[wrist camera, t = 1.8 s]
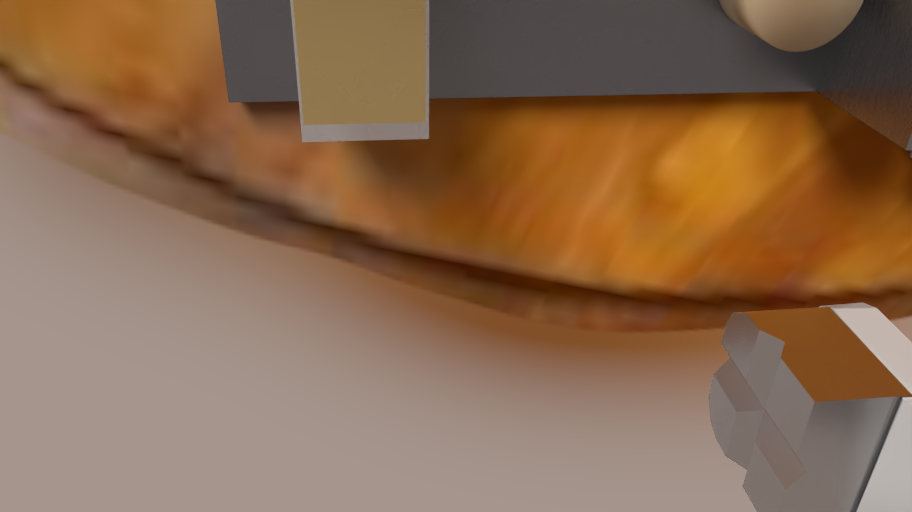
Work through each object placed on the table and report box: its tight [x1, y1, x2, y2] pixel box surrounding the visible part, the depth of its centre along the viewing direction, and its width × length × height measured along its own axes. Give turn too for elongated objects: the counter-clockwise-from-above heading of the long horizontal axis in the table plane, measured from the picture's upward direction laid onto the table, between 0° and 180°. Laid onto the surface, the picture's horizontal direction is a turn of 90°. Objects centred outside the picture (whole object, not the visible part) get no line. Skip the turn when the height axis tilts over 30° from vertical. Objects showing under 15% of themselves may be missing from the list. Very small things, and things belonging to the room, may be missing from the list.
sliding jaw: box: [290, 0, 429, 142], centre depth 23 cm, size 4×8×10 cm, turn 179°
